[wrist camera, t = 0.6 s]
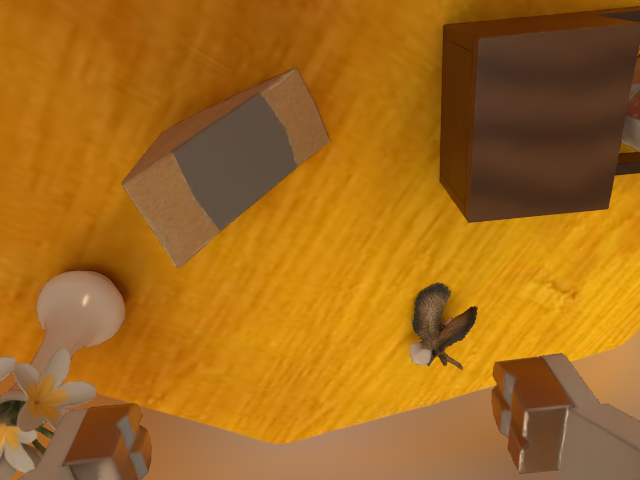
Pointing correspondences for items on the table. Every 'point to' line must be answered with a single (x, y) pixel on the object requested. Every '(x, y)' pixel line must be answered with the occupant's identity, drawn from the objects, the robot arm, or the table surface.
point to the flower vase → (55, 363)
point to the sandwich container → (223, 162)
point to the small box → (633, 112)
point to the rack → (536, 112)
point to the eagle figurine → (437, 326)
